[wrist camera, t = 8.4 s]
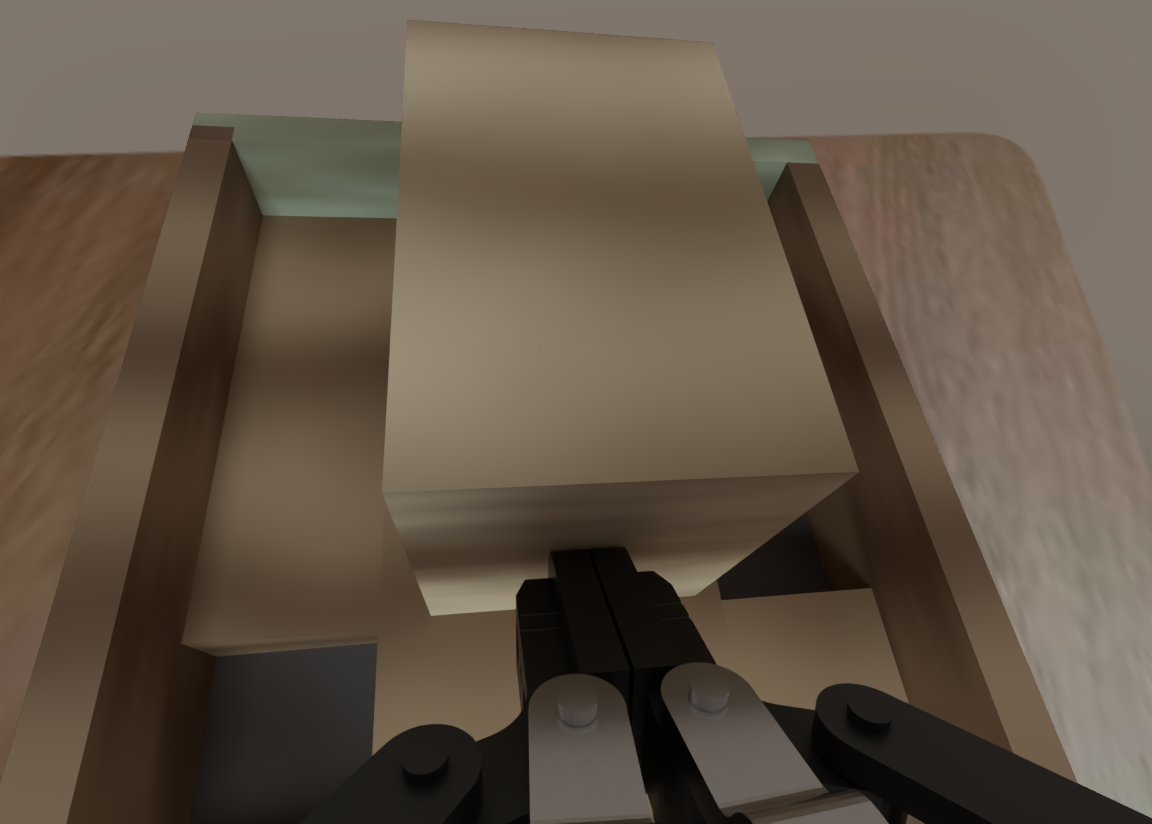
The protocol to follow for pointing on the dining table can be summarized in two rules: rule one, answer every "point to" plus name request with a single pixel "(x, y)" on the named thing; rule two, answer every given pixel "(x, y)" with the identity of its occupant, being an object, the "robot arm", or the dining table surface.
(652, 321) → the beech block
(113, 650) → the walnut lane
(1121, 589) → the dining table surface
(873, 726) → the robot arm
